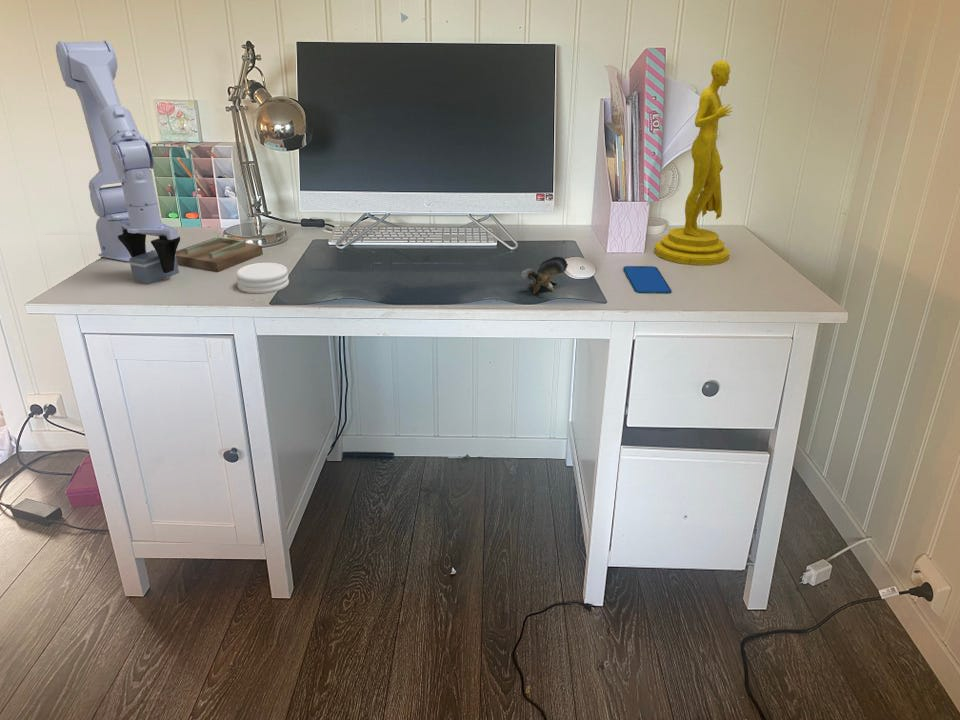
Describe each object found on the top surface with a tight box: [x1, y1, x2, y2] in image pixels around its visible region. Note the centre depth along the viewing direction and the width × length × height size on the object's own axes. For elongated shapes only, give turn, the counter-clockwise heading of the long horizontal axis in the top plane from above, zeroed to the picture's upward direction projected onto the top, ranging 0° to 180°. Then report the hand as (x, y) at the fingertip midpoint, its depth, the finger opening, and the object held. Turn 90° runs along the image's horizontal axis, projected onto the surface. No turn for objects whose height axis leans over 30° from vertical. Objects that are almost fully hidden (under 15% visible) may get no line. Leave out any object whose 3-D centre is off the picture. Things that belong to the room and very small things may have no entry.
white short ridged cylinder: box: [235, 262, 290, 294], centre depth 142 cm, size 10×10×4 cm
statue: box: [653, 60, 733, 266], centre depth 154 cm, size 17×17×41 cm
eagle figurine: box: [520, 256, 569, 295], centre depth 140 cm, size 8×7×9 cm
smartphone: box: [622, 265, 672, 295], centre depth 146 cm, size 7×1×15 cm
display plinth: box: [176, 236, 264, 273], centre depth 157 cm, size 14×14×3 cm
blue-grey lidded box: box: [129, 249, 180, 285], centre depth 145 cm, size 4×8×5 cm, turn 155°
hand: (155, 268), depth 145 cm, fingers open, 7 cm apart
